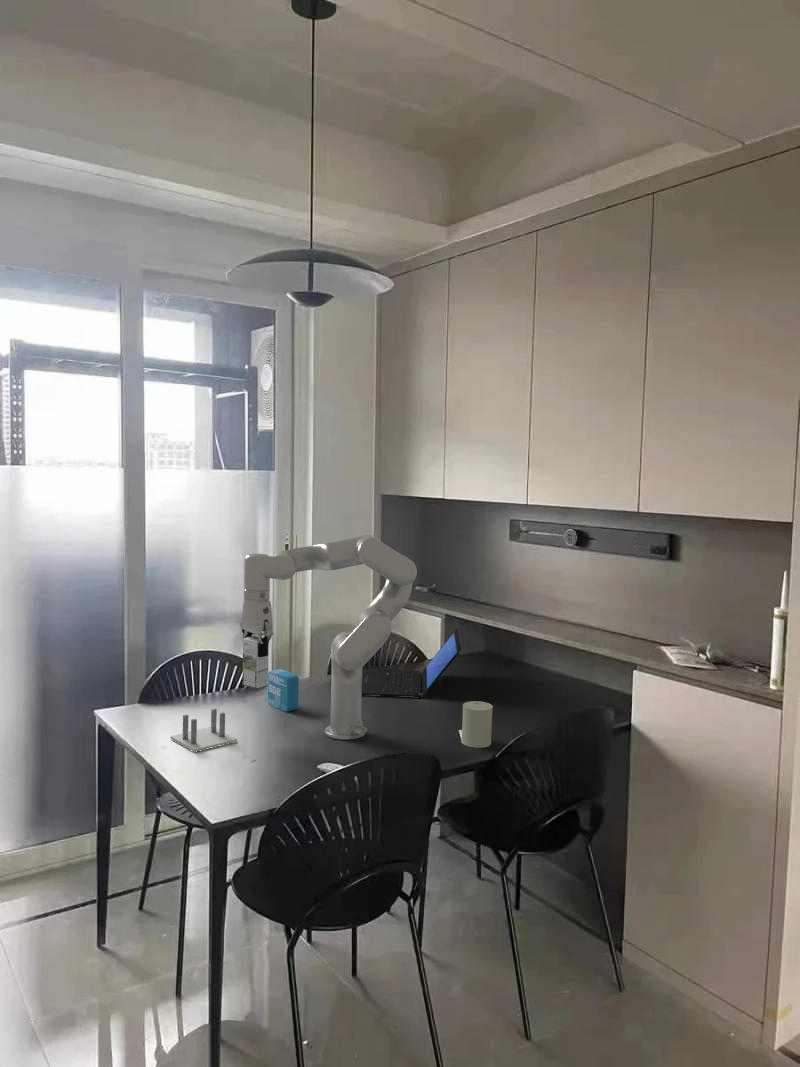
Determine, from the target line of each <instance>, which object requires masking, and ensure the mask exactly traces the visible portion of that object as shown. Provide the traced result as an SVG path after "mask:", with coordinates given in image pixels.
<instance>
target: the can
mask: <svg viewBox="0 0 800 1067" xmlns="http://www.w3.org/2000/svg"><path fill="white" fill-rule="evenodd" d="M493 708H494V706H493V704H490V703H489V702H486V701H485V702H484V701H479V700H478V701H477V700H476V701H475V700H473V701H466V702H464V703H463V704H462V725H461V726H462V727H461V740H460V743H461V744H462V745H464V746H465V747H469V748H475V749H482V748H487V747H490V746H491V745H492V724H493V723H492V722H493Z"/></svg>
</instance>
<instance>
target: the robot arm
mask: <svg viewBox="0 0 800 1067" xmlns="http://www.w3.org/2000/svg"><path fill="white" fill-rule="evenodd" d="M361 565H365V566H366V567H368V568H369V569H371V570H372V571H374V572H376V573H377V574H379V575H380V576H382V577H384V578H385V583H384V586H383V588H382V589H381V591H379V593H378V594H377V595H376V596H375V597H374V598H373V600H372V601H371V602H369V603H368V605H367V606H366V607H365V608H364V609H363V610H362V611H361V612H360V613H359V614H358V616H357V618H356V626H357V627H356V628H355V629H353V631H342V632H340V633H338V634H337V635H336V636H335V637H334V638H333V640H332V643H331V647H330V649H331V650H330V654H331V655H330V656H331V658H330V659H331V678H330V679H331V680H330V713H329V714H330V716H329V718H330V719H329V725H328V726H326V727H325V728H324V734H325V735H326V737H328V738H331V739H336V740H343V741H345V740H346V741H347V740H355V739H359V738H362V737H364V736H366V733H367V732H368V728H367V727H365V726H364V721H363V720H362V700H363V699H362V697H363V696H362V670H363V667H364V666H365V665H366V664H367V663H368V661H370V659H372V658H373V656H374V655H375V654H376V653H377V652H378V651H379V650H380V649H381V648H382V647H383V645H384V644H385V643H386V642H387V641H388V640H389V638H390V636H391V634H392V630H393V626H392V621H393V620H394V619H395V617H397V615H399V613H400V612H401V611H402V609H403V608H404V607H405V605H406V604H407V602H408V601H409V599H410V597H411V593H412V589H413V582H414V581H415V579H416V578H417V574H418V571H417V570H418V569H417V566H416V564H415V563H414V561H413V560H412V559H410V558H408V557H407V556H405V555H403V554H401V553H400V552H398V551H397V550H395V549H393V548H392V547H390V546H389V545H387V544H386V543H384V542H383V541H382V540H380V539H379V538H377V537H375V536H373V535H361V536H355V537H350V538H345V539H340V540H336V541H331V542H330V541H329V542H325V543H323V542H322V543H318V544H313V545H307V546H300V547H295V548H290V549H286V550H281V551H278V552H275V553H274V554H273V555H268V554H266V553H249V554H247V555H245V557H244V570H243V572H244V573H243V574H244V576H243V577H244V579H243V580H244V581H243V583H244V584H243V588H244V590H243V605H242V614H241V615H242V616H241V617H242V618H241V622H240V624H239V626H240V628H241V632H242V639H244V638H247V637H250V636H255V635H256V636H258V638H259V642H260V644H258V657H264V656H268V643H269V644H270V640H271V639H272V636H273V635H274V631H273V625H274V624H273V610H272V603H271V600H270V599H271V598H270V597H271V596H270V594H271V593H270V592H271V591H270V590H271V589H270V588H271V579H273V580H278V581H279V580H280V581H286V580H287V581H288V580H289V579H291V578H293V576H295V574H296V573H300V572H305V571H312V570H313V571H314V570H320V571H326V572H328V571H336V570H340V569H345V568H350V567H354V566H361ZM262 637H264V638H263V639H262Z"/></svg>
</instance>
